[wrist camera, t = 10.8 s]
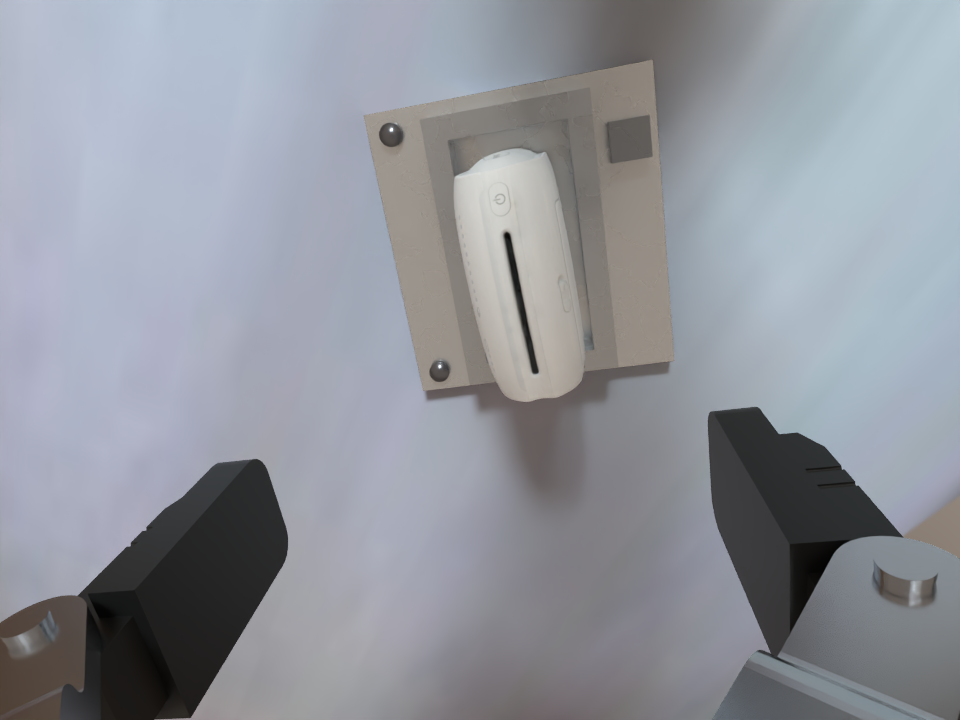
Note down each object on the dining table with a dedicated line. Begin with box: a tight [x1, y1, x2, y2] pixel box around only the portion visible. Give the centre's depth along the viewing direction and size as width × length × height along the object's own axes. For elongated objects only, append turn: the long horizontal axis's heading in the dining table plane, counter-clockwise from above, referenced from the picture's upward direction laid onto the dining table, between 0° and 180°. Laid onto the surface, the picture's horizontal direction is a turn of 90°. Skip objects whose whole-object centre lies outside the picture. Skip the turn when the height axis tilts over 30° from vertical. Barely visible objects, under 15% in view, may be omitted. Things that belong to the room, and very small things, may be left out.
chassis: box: [364, 60, 674, 391], centre depth 34 cm, size 16×15×3 cm
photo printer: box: [454, 148, 585, 402], centre depth 29 cm, size 10×4×12 cm, turn 12°
